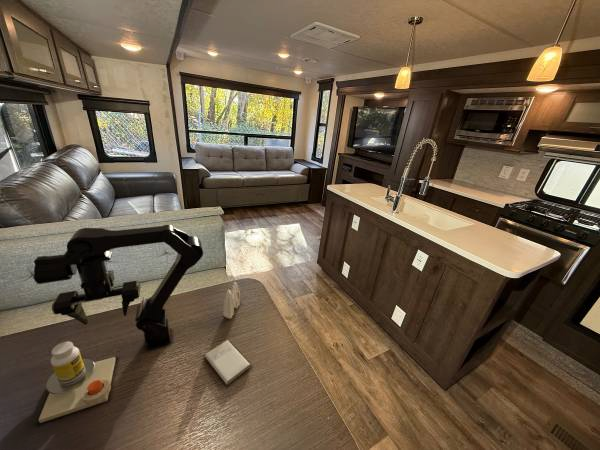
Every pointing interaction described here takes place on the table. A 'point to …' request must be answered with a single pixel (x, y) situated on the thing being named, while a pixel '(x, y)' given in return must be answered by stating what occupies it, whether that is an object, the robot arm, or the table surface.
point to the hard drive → (227, 361)
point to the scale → (80, 393)
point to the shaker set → (231, 301)
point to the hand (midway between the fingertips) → (106, 319)
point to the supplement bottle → (67, 362)
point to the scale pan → (62, 388)
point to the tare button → (95, 387)
